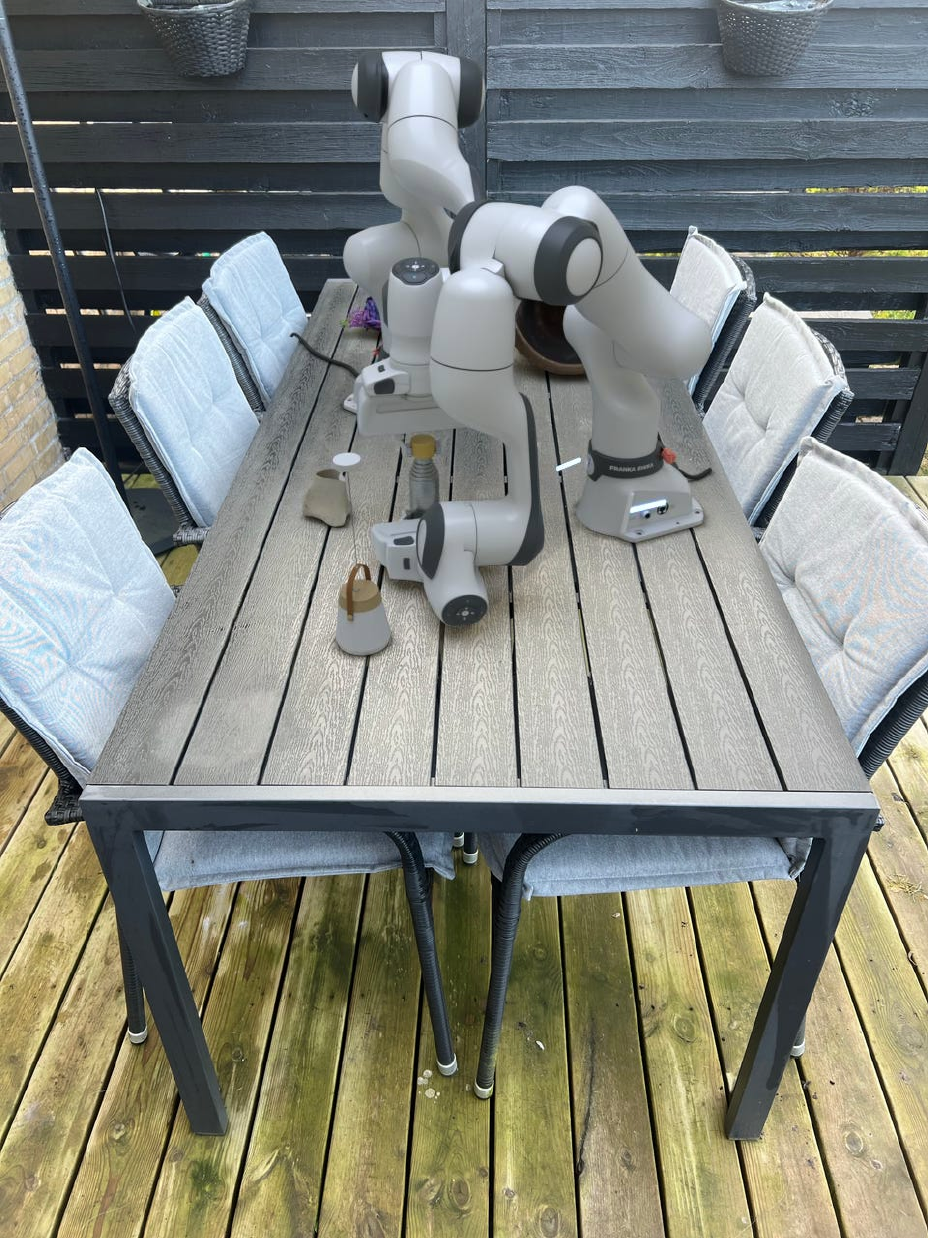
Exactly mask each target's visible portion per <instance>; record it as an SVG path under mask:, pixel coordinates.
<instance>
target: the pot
mask: <svg viewBox="0 0 928 1238" xmlns="http://www.w3.org/2000/svg"><path fill="white" fill-rule="evenodd" d="M515 298H517V299H519V300H521V302H520V304H519V306H518V308H517V311H516V313H515V350H516V351H518V353H519V354H520V355H521V356H522V357H523V358H525V359H526V360H527V361H528V362H530V363H531V364H532V365H533V366H535V367H537V368H539V369H542V370H543V371H547V372H550V373H552V374H555V375H556V374H557V375H564V376H575V375H576V376H577V375H583V374H584V375H586V371H585V368H584V366H583V364H582V361H581V359H580V358H579V356H578V354H577V352H576V351H575V350H574V348H573V347H572V346H571V344H570V343H569V342H568V341H567V339H566V337H565V334H564V329H563V318H564V313H565V310H566V307H567V305H566V306H560V305H549V304H547V303H545V302H543V301H538V300H532V299H527V298H522V297H518V296H516V297H515Z"/></svg>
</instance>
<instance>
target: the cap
mask: <svg viewBox="0 0 928 1238" xmlns="http://www.w3.org/2000/svg"><path fill="white" fill-rule="evenodd" d="M435 440H436V439H435V437H434V436H433V435H431V434H426V433H419V434H415V435H413V436H411V438H410V439H409V443H410V446H411V447H412V452H411V453H412V457H413V458H414V459H415V458H418V459H426V458H430V457H432V458H433V457H434V456H435V455H436V454H435Z"/></svg>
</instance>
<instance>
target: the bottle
mask: <svg viewBox="0 0 928 1238" xmlns="http://www.w3.org/2000/svg"><path fill="white" fill-rule="evenodd" d="M407 475H408V496H409V497H408V498H409V510H410V512H411V514H412V518H411V519H420V518H422V516H423V515H424V513H425V512H426V511H427V510H428V508H429V507H430V506H432V505H433V504H434V503H436V502H441V499H440V497H441V496H440V473H439V469H438V467H437V465H436V463H435V462H434V459H433V456H432V457H430V458H426V459H418V458H415V457H414V459H413V460H412V463H411V466H410V469H409V470H408V474H407Z"/></svg>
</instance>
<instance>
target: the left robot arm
mask: <svg viewBox="0 0 928 1238" xmlns="http://www.w3.org/2000/svg"><path fill="white" fill-rule="evenodd" d="M350 88H351V89H350V91H351V96H352V100H353V103H354V105H355V108H356V112H357V114H359V115H360V117H361V118H362V119H363V120H365V121H368V122H371V123H375V124H380V123H382V130H381V141H380V162H379V163H380V165H379V187H380V190H381V192H382V194H383V196H384V198H385V199H386V201H388V202H389V203H391V204H392V205H394V206H395V207H398V208H399V209H401V218H400V220H399V221H396V222H390V223H387V224H386V223H384V224H379V225H375V226H370V227H367V228H365V229H363V230H360V231H358V232H357V233H355V234H352V235H351V236H349V237H348V239H347V240H346V242H345V245H344V247H343V255H342V260H343V266H344V269H345V271H346V274H347V275H348V277H349V278H350V280H351V281H352V282H353V283H354V284H355V285H357V286H358V287H360V288H362V289H363V290H364V291H366V293H368V294H369V296H371V297H372V298H373V300H374V302H375V303H376V306H377V308H378V311H379V315H380V322H381V329H380V330H382V333H381V339H382V344H380V345H378V347H377V348H375V349H374V350H372V351H371V352H372V353H373V354H372V357H375V356H377V359H376V361H375V362H374V363H372V364H370V365H367V366H365V367H364V368H362V370H361V373H360V374H359V373H358V372H357V371H356V369H355V368H354V367H353V366H352V365H350V364H347V363H345V362H343V361H339V360H336V359H333V358H331V357H329V356H326V355H324V354H322V353H320V352H318V351H317V350H315V349H314V348H312V347H311V346H310V345H309V343H308V342H307V341H306V340H305V339H304V338H303V337H301V335H300V334H298V333H297V332H291V333H290V335H289V338H293V337H295V338H297V339H298V340H299V341H300V342H301V343H302V344H303V345H304V346H305V347H306V349H307V351H309V352H311V354H313V355H315V356H316V357H318V358H320V359H322V360H324V361H327V362H329V363H332V364H334V365H338V366H341V367H344V368H346V369H348V370H349V371H350V372H351V373H352V374H353V376H354V377H356V379H355V380H354V383H353V384H354V385H353V392H352V393H350V394H349V395H348V396H347V397H346V398H345V400H344V401H343V409H345V410H347V411H349V412H352V413H353V414H356V424H357V425H356V426H357V429H358V432H359V433H360V435H362V437H364V438H372V437H373V438H375V437H381V436H382V437H383V436H394V439H395V441H396V442H397V444H398V445H399V446H400V448H401V455H402V458H403V459H404V458H412V457H413V456H412V453H411V452H412V447H411V446H410V442H405V435H406V434H414V433H423V432H426V433H427V432H435V431H440V435H439V437H438V439H437V440H436V439H435V454H434V455H442V454H443V455H444V454H445V445H446V443H447V442H448V441H449V438H450V437H451V435H452V433H451V430H454V429H465V428H466V429H467V427H466V426H464V425H462V424H460V423H458V422H457V421H455V420H453V419H452V418H450V417H449V416H448V415H447V414H445V413H444V412H443V411H442V410H441V409H440V407H439V406H438V405H437V403H436V402H435V400H434V398H433V396H432V393H431V387H430V349H431V338H432V330H433V323H434V317H435V312H436V308H437V303H438V299H439V295H440V291H441V288H442V285H443V284H444V282H445V280H446V279H447V278H448V277H449V276H450V271H449V265H448V238H449V232H450V229H451V226H452V223H453V221H454V220H455V219H454V218H452V217H450V216H449V215H448V213H447V212H446V211H445V209H446V210H448V211H450V212H451V213H452V214H454V215H456V216H457V215H458V213H459V211H460V210H461V209H462V208H463V207H464V206H465V205H466V204H468V203H470V202H473V201H477V200H486V199H485V195H484V189H483V186H482V180H481V178H480V175H479V173H478V170H477V168H476V167H475V166H474V165H472V164H471V163H468V162H467V161H466V159H465V158H464V156H463V154H462V152H461V149H460V146H459V130H461V129H464V128H465V129H466V128H470V127H472V126H473V125H474V124H476V122H477V121H478V120H479V118H480V115H481V113H482V111H483V108H484V105H485V102H486V95H487V94H486V83H485V78H484V75H483V69H482V68H481V66H480V64H479V63H478V61H475V60H474V59H471V58H468V57H466V56H462V55H459V56H458V57H456V56H452V55H448V54H444V53H441V52H440V53H439V52H433V51H426V50H420V51H410V50H409V51H408V50H395V51H393V50H392V51H382V49H373V50H368V51H364V52H363V53H362V54H361V55H360V56H359V57H358V58H357V62H356V64H355V66H354V68H353V71H352V75H351V82H350Z"/></svg>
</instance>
